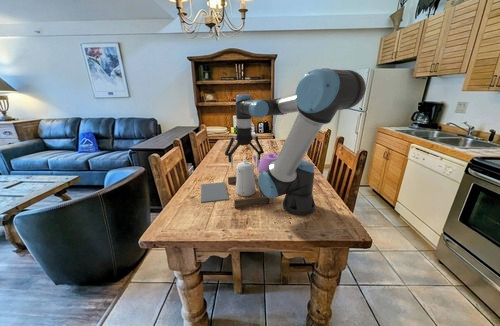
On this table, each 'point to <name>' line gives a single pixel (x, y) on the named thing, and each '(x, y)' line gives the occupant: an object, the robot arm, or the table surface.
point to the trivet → (213, 192)
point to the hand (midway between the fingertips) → (244, 166)
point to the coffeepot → (245, 179)
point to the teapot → (265, 161)
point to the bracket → (250, 201)
